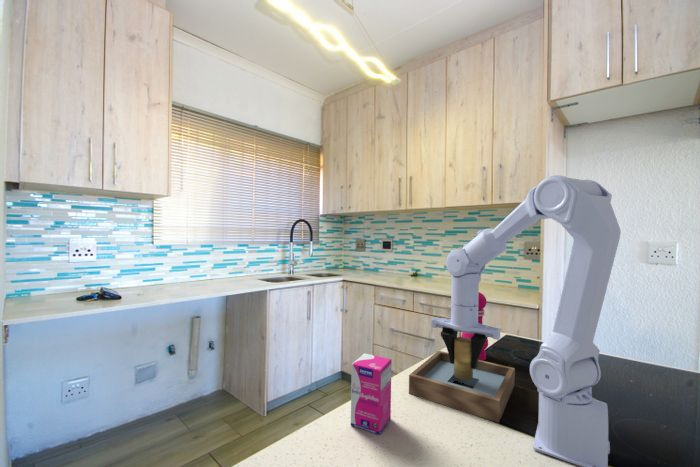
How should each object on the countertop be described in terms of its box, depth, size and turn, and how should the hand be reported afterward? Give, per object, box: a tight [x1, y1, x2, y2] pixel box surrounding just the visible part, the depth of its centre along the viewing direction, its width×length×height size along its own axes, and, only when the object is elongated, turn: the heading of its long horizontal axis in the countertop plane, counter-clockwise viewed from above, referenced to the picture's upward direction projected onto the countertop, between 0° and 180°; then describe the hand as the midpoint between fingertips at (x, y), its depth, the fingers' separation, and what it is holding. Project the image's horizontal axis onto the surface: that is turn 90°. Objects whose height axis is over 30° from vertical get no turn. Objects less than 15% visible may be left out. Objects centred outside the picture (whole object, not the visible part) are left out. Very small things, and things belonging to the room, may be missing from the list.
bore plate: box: [423, 361, 505, 397], centre depth 72 cm, size 16×16×2 cm
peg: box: [454, 336, 473, 380], centre depth 72 cm, size 4×4×8 cm
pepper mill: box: [460, 292, 489, 361], centre depth 91 cm, size 7×7×20 cm
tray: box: [408, 350, 516, 423], centre depth 72 cm, size 18×18×4 cm
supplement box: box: [350, 353, 393, 435], centre depth 59 cm, size 6×6×12 cm
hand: (463, 364), depth 72 cm, fingers closed on peg, 4 cm apart
